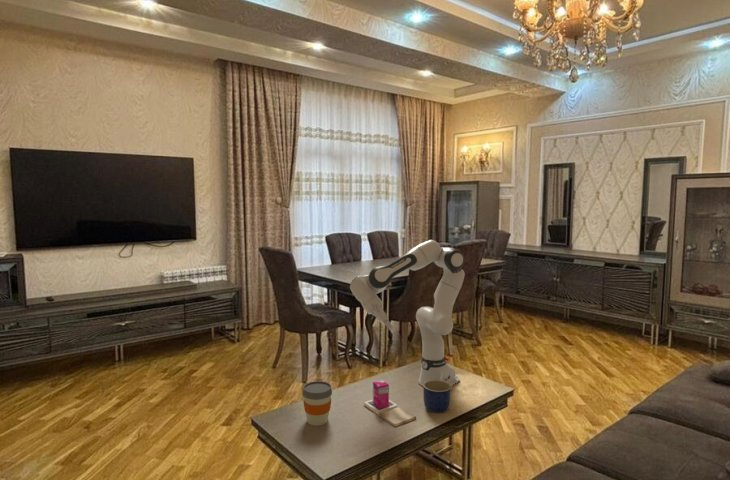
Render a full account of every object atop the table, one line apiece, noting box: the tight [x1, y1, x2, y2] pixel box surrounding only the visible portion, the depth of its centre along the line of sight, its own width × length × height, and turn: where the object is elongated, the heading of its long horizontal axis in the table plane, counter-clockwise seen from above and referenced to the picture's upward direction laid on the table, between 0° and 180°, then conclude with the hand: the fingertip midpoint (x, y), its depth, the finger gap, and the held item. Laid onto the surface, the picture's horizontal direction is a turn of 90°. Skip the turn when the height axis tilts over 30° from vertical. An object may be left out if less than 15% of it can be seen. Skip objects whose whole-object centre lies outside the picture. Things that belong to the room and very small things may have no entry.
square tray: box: [363, 399, 399, 416], centre depth 205 cm, size 11×11×2 cm
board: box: [378, 406, 417, 427], centre depth 195 cm, size 12×11×1 cm
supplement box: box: [372, 379, 390, 410], centre depth 204 cm, size 6×6×12 cm
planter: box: [422, 380, 452, 414], centre depth 203 cm, size 12×12×11 cm
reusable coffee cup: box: [302, 380, 333, 427], centre depth 191 cm, size 13×13×15 cm
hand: (391, 329), depth 209 cm, fingers open, 8 cm apart
